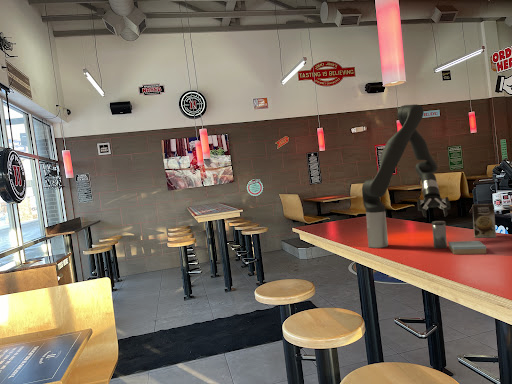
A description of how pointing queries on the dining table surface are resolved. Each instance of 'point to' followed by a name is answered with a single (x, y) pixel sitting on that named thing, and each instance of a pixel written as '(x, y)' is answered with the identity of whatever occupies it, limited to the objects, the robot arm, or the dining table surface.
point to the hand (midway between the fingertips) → (435, 216)
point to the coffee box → (484, 221)
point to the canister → (439, 234)
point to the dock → (467, 247)
